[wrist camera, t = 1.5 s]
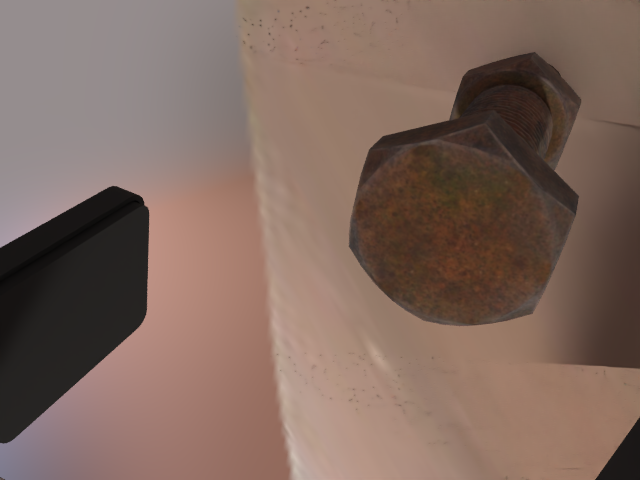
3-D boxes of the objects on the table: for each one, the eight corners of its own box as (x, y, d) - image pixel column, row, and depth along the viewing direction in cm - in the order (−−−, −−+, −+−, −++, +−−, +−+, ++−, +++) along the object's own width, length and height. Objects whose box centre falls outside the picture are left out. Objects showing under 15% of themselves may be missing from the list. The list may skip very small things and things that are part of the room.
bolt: (489, 10, 26) (374, 97, 14) (611, 38, 24) (601, 162, 12) (454, 135, 29) (334, 295, 17) (559, 166, 27) (511, 365, 15)
